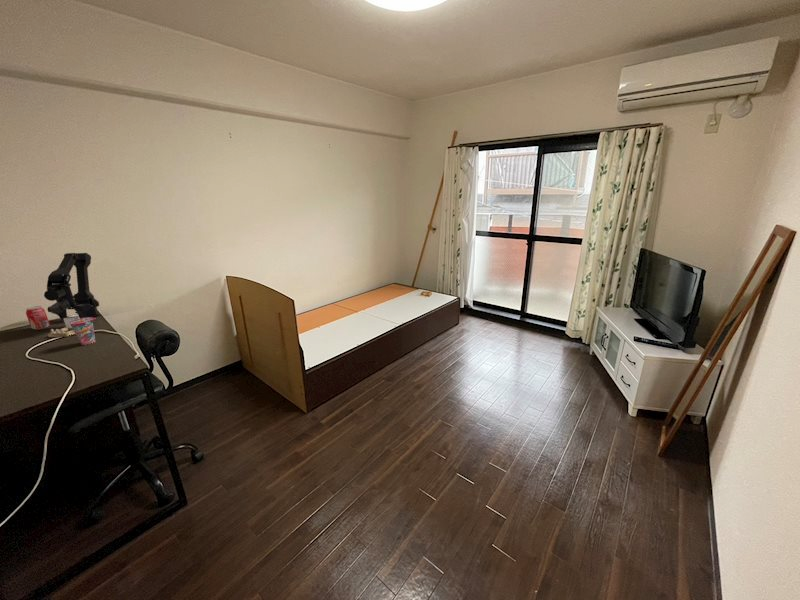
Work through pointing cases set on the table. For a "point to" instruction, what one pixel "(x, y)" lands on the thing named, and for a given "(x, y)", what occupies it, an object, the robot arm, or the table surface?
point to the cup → (84, 330)
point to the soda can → (37, 317)
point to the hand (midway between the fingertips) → (74, 322)
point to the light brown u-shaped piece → (60, 332)
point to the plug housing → (70, 318)
